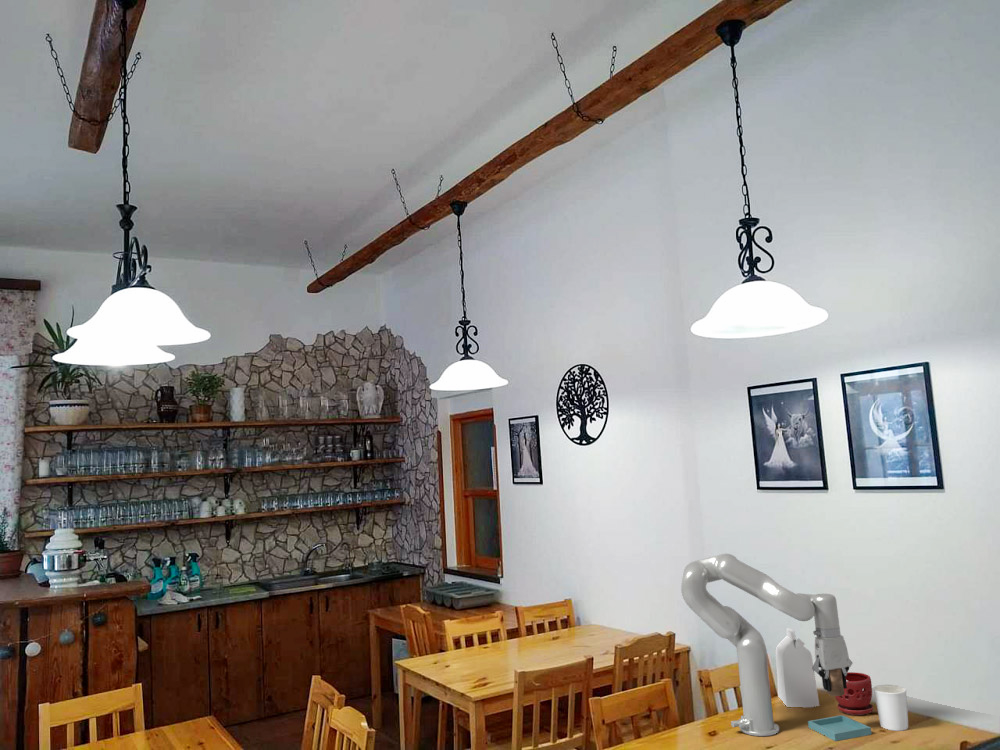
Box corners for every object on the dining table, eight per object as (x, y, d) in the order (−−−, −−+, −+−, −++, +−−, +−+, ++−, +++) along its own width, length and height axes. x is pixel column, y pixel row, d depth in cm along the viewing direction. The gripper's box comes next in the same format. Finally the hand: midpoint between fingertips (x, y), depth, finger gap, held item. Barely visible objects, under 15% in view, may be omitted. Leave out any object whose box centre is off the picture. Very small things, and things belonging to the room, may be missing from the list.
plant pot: (866, 704, 279) (862, 670, 280) (881, 716, 266) (876, 680, 267) (829, 706, 280) (825, 671, 281) (841, 718, 267) (837, 682, 268)
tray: (835, 741, 247) (834, 733, 247) (808, 728, 260) (807, 721, 260) (871, 734, 250) (870, 727, 251) (843, 721, 263) (842, 715, 264)
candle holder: (880, 720, 263) (876, 683, 264) (913, 723, 257) (908, 686, 258) (875, 729, 255) (870, 691, 256) (908, 733, 249) (903, 694, 250)
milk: (778, 698, 293) (770, 627, 296) (809, 696, 292) (801, 625, 295) (786, 708, 281) (778, 634, 284) (819, 706, 280) (811, 632, 283)
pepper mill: (834, 696, 253) (830, 665, 254) (823, 692, 258) (820, 662, 259) (847, 694, 255) (843, 663, 256) (837, 690, 260) (833, 660, 261)
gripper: (813, 638, 253) (820, 695, 251) (857, 631, 257) (865, 687, 255) (799, 633, 260) (805, 689, 258) (842, 627, 264) (849, 682, 262)
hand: (835, 688), depth 257 cm, fingers closed on pepper mill, 5 cm apart
